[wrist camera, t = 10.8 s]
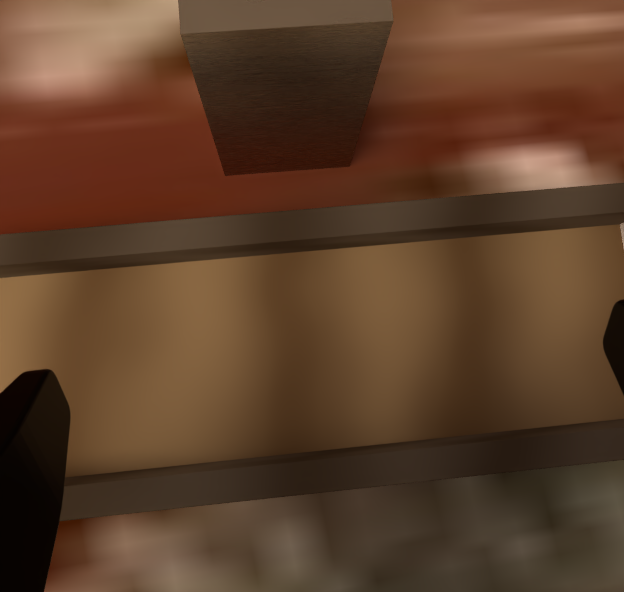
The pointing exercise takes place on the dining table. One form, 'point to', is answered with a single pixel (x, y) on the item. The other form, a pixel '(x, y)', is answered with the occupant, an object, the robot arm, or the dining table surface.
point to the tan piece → (322, 345)
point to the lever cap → (284, 77)
